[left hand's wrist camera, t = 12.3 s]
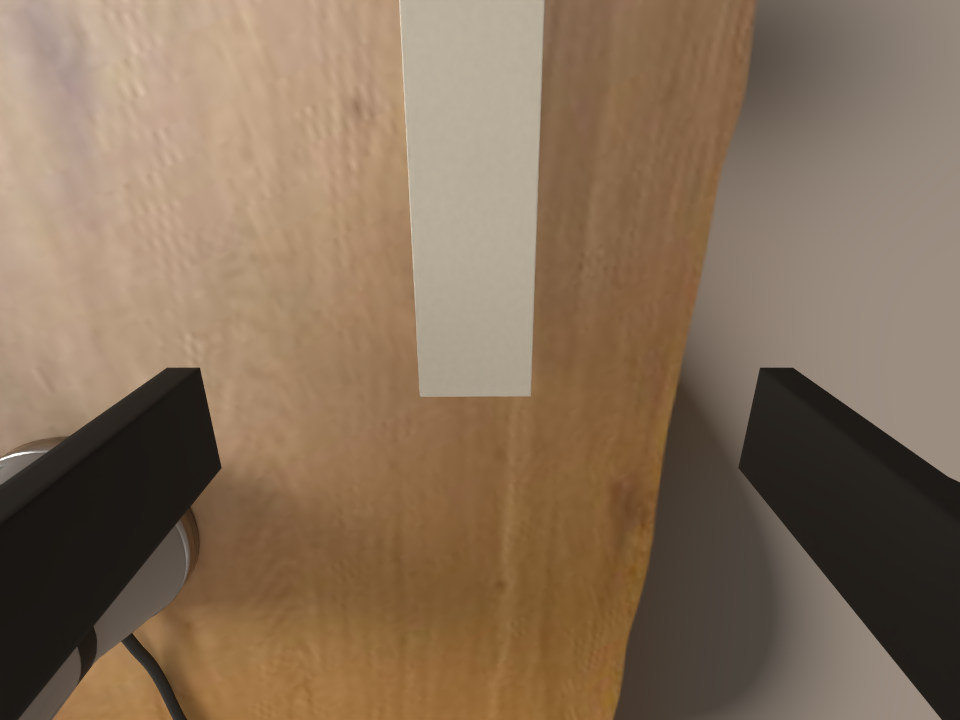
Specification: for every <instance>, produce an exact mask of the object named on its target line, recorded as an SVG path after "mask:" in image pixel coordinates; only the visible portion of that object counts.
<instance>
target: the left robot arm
mask: <svg viewBox="0 0 960 720" xmlns="http://www.w3.org/2000/svg"><path fill="white" fill-rule="evenodd" d="M220 469H221V463H220V459H219V454H218V450H217V445H216V440H215V436H214V431H213V426H212V422H211V417H210V412H209V408H208V403H207V399H206V394H205V389H204V385H203V380H202V375H201V371H200V368H166V369H165V370H163V371H162V372H160V373H159V374H158V375H156V376H155V377H153V378H152V379H150V380H149V381H148V382H146V383H145V384H143V385H142V386H141V387H139V388H138V389H136V390H135V391H133V392H132V393H131V394H129V395H128V396H126V397H125V398H123V399H122V400H121V401H119V402H118V403H116V404H115V405H113V406H112V407H111V408H109V409H108V410H106V411H105V412H104V413H102V414H101V415H99V416H98V417H96V418H95V419H94V420H92V421H91V422H89V423H88V424H86V425H85V426H84V427H82V428H81V429H79V430H78V431H77V432H75V433H74V434H72V435H71V436H69V437H68V438H51V439H42V440H38V441H33V442H30V443H27V444H24V445H22V446H20V447H17V448H15V449H14V450H12V451H10V452H9V453H7V454H6V455H4V456H3V457H1V458H0V720H52V719H53V718H54V717H55V715H56V714H57V712H58V711H59V710H60V708H61V707H62V706H63V704H64V703H65V702H66V700H67V699H68V697H69V696H70V695H71V693H72V692H73V691H74V689H75V688H76V686H77V685H78V684H79V682H80V681H81V680H82V678H83V677H84V676H85V674H86V673H87V672H88V670H89V669H90V668H91V667H92V665H93V664H94V663H95V662H96V661H97V660H98V659H99V658H100V657H101V656H102V655H104V654H105V653H106V652H108V651H109V650H110V649H112V648H113V647H114V646H115V645H117V644H118V643H119V642H122V643H123V644H124V645H125V647H126V648H127V649H128V650H129V651H130V653H131V654H132V655H133V656H134V657H135V658H136V659H137V660H138V661H139V662H140V663H141V664H142V665H143V666H144V668H145V669H146V670H147V671H148V673H149V674H150V676H151V677H152V679H153V681H154V682H155V684H156V686H157V688H158V689H159V691H160V693H161V695H162V697H163V700H164V702H165V704H166V706H167V708H168V710H169V712H170V714H171V716H172V718H173V720H187V719H186V717H185V715H184V714H183V712H182V710H181V708H180V706H179V704H178V701H177V699H176V697H175V695H174V693H173V691H172V689H171V686H170V684H169V682H168V680H167V678H166V677H165V675H164V673H163V671H162V670H161V668H160V666H159V665H158V663H157V662H156V661H155V659H154V658H153V657H152V656H151V655H150V653H149V652H148V651H147V650H146V649H145V648H144V647H143V646H142V645H141V644H140V642H139V641H138V640H137V639H136V637H135V636H134V635H133V634H132V632H133V631H135V630H136V629H137V628H138V627H140V626H141V625H142V624H143V623H145V622H146V621H147V620H148V619H149V618H151V617H152V616H154V615H156V614H157V613H158V612H160V611H161V610H162V609H164V608H165V607H166V606H167V605H169V604H170V603H171V602H172V600H173V599H174V598H175V597H176V596H177V594H178V593H179V591H180V590H181V588H182V587H183V585H184V584H185V582H186V581H187V580H188V578H189V577H190V575H191V573H192V572H193V570H194V568H195V565H196V562H197V559H198V554H199V536H198V530H197V526H196V523H195V520H194V518H193V515H192V513H191V511H190V509H189V507H190V506H191V505H192V504H193V503H194V501H195V500H196V499H197V498H198V496H199V495H200V494H201V493H202V491H203V490H204V489H205V488H206V486H207V485H208V484H209V483H210V481H211V480H212V479H213V478H214V477H215V475H216V474H217V473H218V472H219V470H220ZM739 469H740V470H741V472H742V473H743V474H744V475H745V476H746V478H747V479H748V480H749V481H750V483H751V484H752V485H753V486H754V488H755V489H756V490H757V491H758V493H759V494H760V495H761V496H762V498H763V499H764V500H765V501H766V503H767V504H768V505H769V506H770V507H771V509H772V510H773V511H774V512H775V514H776V515H777V516H778V517H779V519H780V520H781V521H782V522H783V524H784V525H785V526H786V527H787V529H788V530H789V531H790V532H791V533H792V535H793V536H794V537H795V538H796V540H797V541H798V542H799V543H800V545H801V546H802V547H803V548H804V550H805V551H806V552H807V553H808V555H809V556H810V557H811V558H812V559H813V561H814V562H815V563H816V564H817V566H818V567H819V568H820V569H821V571H822V572H823V573H824V574H825V575H826V577H827V578H828V579H829V581H830V582H831V583H832V584H833V585H834V587H835V588H836V589H837V590H838V592H839V593H840V594H841V595H842V597H843V598H844V599H845V600H846V602H847V603H848V604H849V605H850V607H851V608H852V609H853V610H854V611H855V613H856V614H857V615H858V616H859V618H860V619H861V620H862V621H863V623H864V624H865V625H866V626H867V628H868V629H869V630H870V631H871V633H872V634H873V635H874V636H875V638H876V639H877V640H878V641H879V642H880V644H881V645H882V646H883V647H884V649H885V650H886V651H887V652H888V654H889V655H890V656H891V657H892V659H893V660H894V661H895V662H896V663H897V665H898V666H899V667H900V668H901V670H902V671H903V672H904V673H905V675H906V676H907V677H908V678H909V680H910V681H911V682H912V683H913V685H914V686H915V687H916V688H917V690H918V691H919V692H920V693H921V694H922V696H923V697H924V698H925V699H926V701H927V702H928V703H929V704H930V706H931V707H932V708H933V709H934V711H935V712H936V713H937V714H938V715H939V717H940V718H941V719H942V720H960V482H958V481H956V480H954V479H951V478H949V477H947V476H946V475H945V474H943V473H942V472H940V471H939V470H938V469H936V468H935V467H933V466H932V465H930V464H929V463H928V462H926V461H925V460H923V459H922V458H920V457H919V456H918V455H916V454H915V453H913V452H912V451H910V450H909V449H908V448H906V447H905V446H903V445H902V444H900V443H899V442H898V441H896V440H895V439H893V438H892V437H891V436H889V435H888V434H886V433H885V432H883V431H882V430H881V429H879V428H878V427H876V426H875V425H874V424H872V423H871V422H869V421H868V420H866V419H865V418H863V417H862V416H861V415H859V414H858V413H856V412H855V411H854V410H852V409H851V408H849V407H848V406H846V405H845V404H844V403H842V402H841V401H839V400H838V399H836V398H835V397H834V396H832V395H831V394H829V393H828V392H827V391H825V390H824V389H822V388H821V387H819V386H818V385H817V384H815V383H814V382H812V381H811V380H810V379H808V378H807V377H805V376H804V375H802V374H801V373H800V372H798V371H797V370H795V369H794V368H760V371H759V375H758V380H757V385H756V389H755V394H754V399H753V403H752V408H751V413H750V417H749V422H748V426H747V431H746V436H745V440H744V445H743V450H742V454H741V459H740V463H739Z"/></svg>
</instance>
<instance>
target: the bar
mask: <svg viewBox="0 0 960 720" xmlns="http://www.w3.org/2000/svg"><path fill="white" fill-rule="evenodd" d="M399 6H400V25H401V45H402V64H403V83H404V102H405V122H406V141H407V160H408V180H409V199H410V218H411V237H412V257H413V276H414V295H415V314H416V334H417V353H418V372H419V392H420V397H456V396H531V376H532V348H533V320H534V292H535V264H536V235H537V207H538V179H539V151H540V123H541V94H542V66H543V38H544V10H545V0H399Z"/></svg>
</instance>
